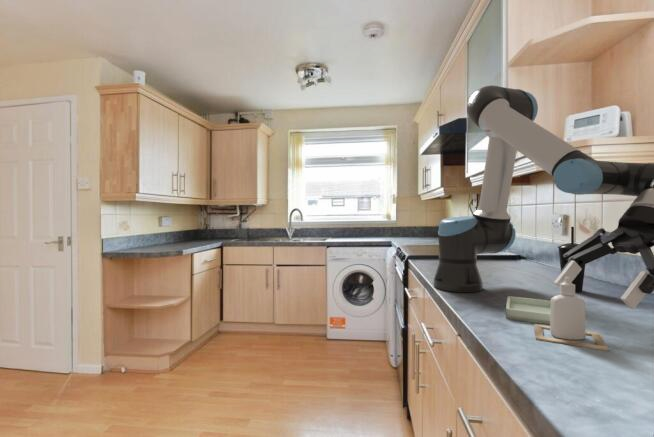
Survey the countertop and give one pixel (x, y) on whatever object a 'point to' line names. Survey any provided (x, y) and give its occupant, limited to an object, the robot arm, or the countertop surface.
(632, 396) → the countertop surface
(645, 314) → the countertop surface
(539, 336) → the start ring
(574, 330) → the eye dropper bottle
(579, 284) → the drinking cup
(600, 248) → the robot arm
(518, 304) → the tray
